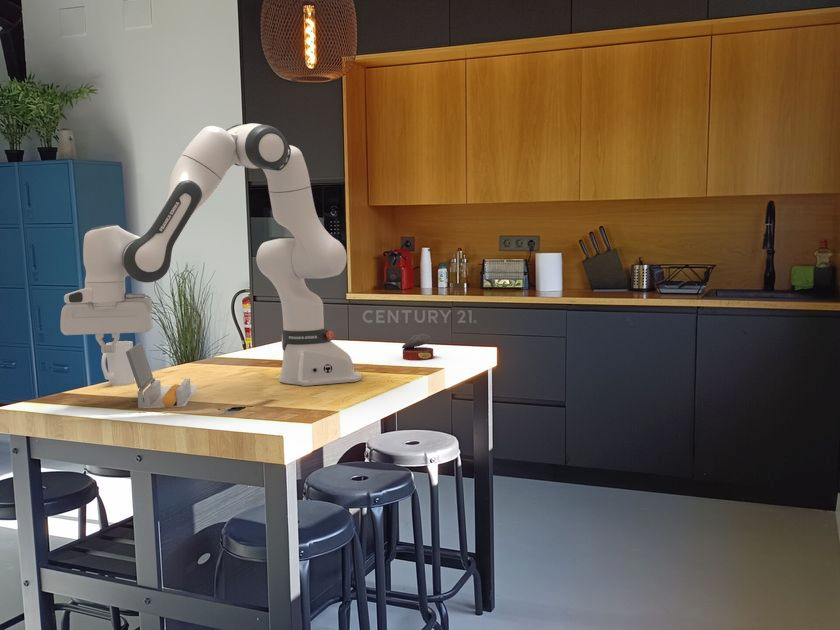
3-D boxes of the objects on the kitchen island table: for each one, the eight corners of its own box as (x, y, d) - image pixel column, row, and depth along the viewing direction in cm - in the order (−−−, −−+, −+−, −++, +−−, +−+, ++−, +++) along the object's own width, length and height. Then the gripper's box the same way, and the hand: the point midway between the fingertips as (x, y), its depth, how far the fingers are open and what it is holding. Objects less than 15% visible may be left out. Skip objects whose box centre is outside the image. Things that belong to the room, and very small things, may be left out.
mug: (121, 383, 220) (119, 340, 219) (140, 385, 217) (138, 341, 216) (93, 390, 211) (90, 345, 210) (113, 392, 208) (110, 346, 207)
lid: (141, 342, 197) (137, 343, 197) (129, 350, 182) (125, 352, 182) (154, 379, 199) (150, 381, 198) (143, 391, 184) (139, 392, 184)
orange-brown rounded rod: (177, 398, 196) (185, 389, 196) (170, 409, 184) (178, 399, 184) (167, 391, 195) (175, 381, 195) (159, 401, 183) (167, 391, 183)
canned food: (407, 375, 251) (392, 348, 250) (412, 366, 261) (397, 340, 260) (438, 359, 249) (423, 331, 248) (442, 350, 258) (427, 324, 257)
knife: (225, 419, 173) (204, 418, 175) (226, 424, 174) (205, 423, 175) (267, 395, 195) (248, 394, 196) (267, 399, 195) (248, 398, 196)
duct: (198, 388, 211) (198, 370, 210) (185, 410, 184) (184, 389, 184) (157, 390, 209) (156, 372, 208) (138, 412, 183) (136, 391, 182)
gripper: (153, 292, 192) (156, 349, 193) (64, 294, 189) (67, 352, 190) (149, 293, 186) (152, 352, 187) (56, 296, 183) (59, 355, 184)
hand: (108, 352), depth 189 cm, fingers closed
